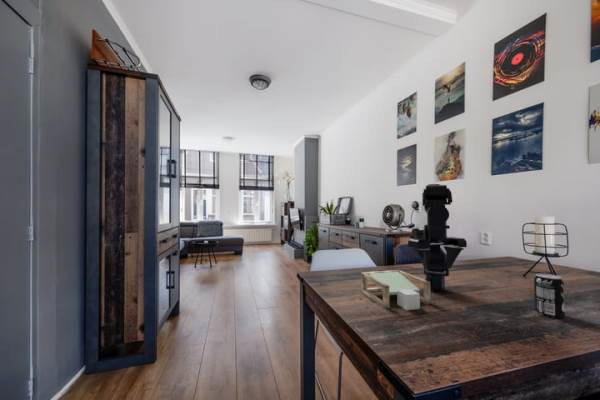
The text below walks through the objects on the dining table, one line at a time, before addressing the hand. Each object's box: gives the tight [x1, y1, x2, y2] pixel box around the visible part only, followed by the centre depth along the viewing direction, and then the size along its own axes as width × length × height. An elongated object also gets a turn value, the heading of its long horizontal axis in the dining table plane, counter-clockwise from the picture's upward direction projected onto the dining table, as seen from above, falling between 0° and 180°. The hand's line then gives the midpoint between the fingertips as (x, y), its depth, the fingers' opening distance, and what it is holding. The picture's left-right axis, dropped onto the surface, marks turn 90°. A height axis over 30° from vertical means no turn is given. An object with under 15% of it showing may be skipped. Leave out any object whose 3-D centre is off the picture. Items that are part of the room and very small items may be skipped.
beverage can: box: [533, 273, 566, 319], centre depth 77 cm, size 7×7×12 cm
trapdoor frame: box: [360, 269, 432, 309], centre depth 91 cm, size 18×18×8 cm
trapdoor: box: [369, 272, 421, 296], centre depth 92 cm, size 13×13×1 cm
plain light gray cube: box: [396, 289, 421, 311], centre depth 83 cm, size 5×5×5 cm
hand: (437, 268), depth 82 cm, fingers open, 9 cm apart
